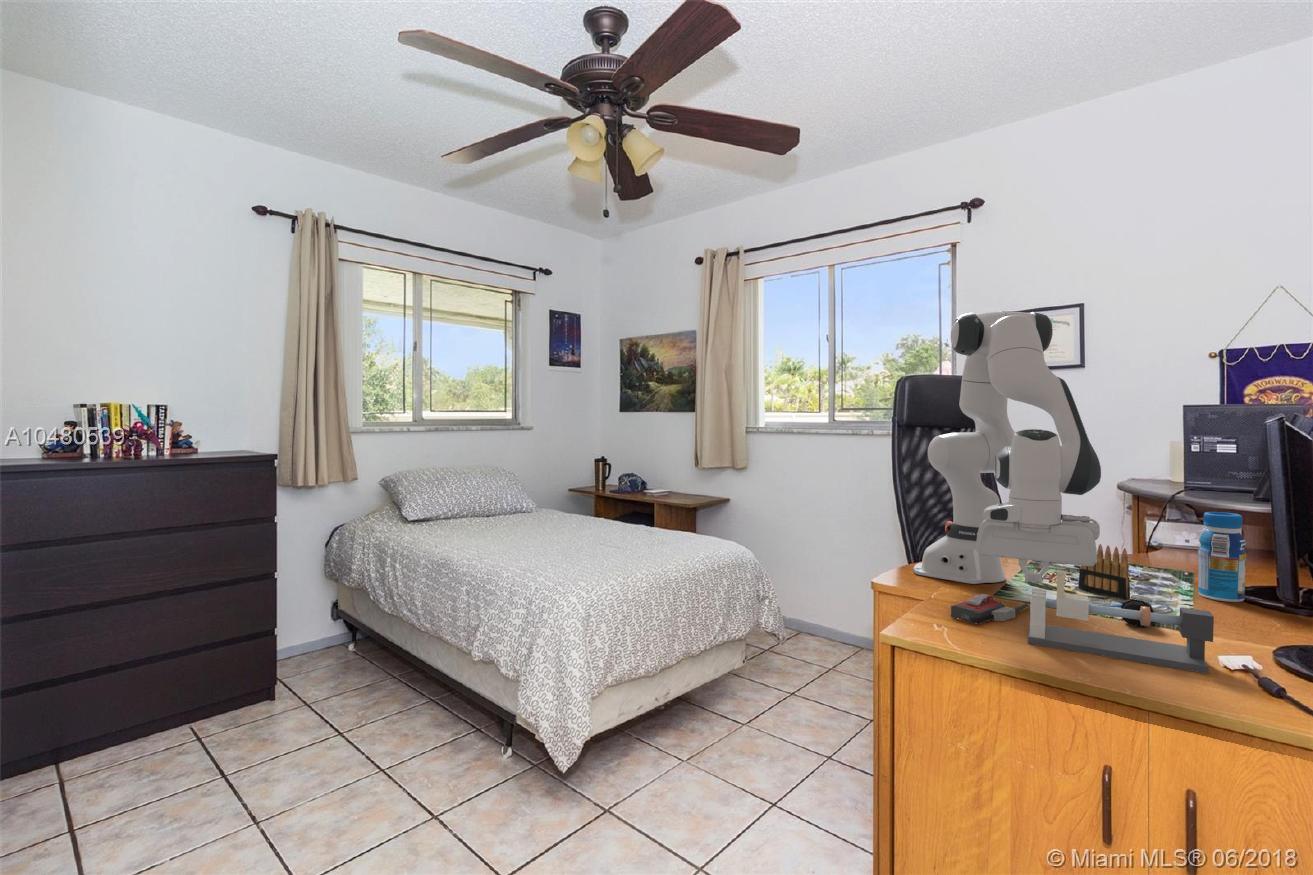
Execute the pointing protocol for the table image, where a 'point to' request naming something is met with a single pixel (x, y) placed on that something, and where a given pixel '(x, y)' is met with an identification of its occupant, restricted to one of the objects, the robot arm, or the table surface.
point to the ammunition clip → (1107, 574)
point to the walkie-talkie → (983, 610)
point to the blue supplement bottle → (1222, 558)
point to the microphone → (1136, 606)
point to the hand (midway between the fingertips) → (1033, 582)
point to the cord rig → (1188, 657)
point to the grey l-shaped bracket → (1070, 601)
